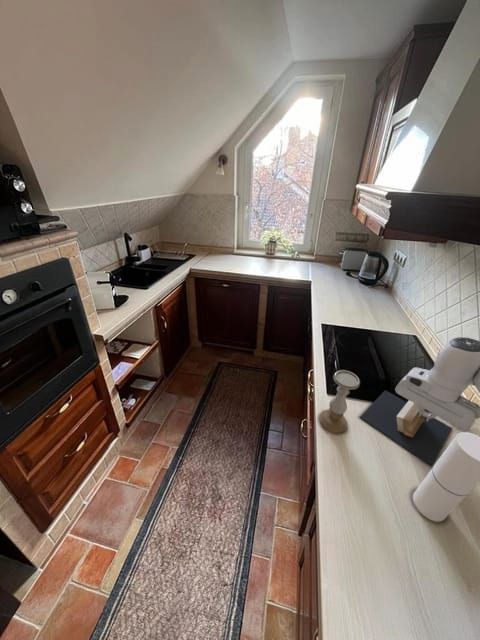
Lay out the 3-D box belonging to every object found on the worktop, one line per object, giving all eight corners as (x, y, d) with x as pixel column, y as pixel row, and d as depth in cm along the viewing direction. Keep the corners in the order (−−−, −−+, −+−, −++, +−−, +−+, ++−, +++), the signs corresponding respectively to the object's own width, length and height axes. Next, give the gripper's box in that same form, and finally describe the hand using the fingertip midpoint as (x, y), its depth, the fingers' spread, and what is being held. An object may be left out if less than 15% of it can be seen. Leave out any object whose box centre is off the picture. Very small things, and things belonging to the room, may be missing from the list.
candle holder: (346, 416, 89) (362, 372, 79) (346, 437, 82) (363, 392, 72) (321, 408, 92) (332, 365, 81) (318, 428, 85) (330, 383, 74)
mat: (450, 428, 86) (451, 427, 85) (431, 466, 74) (431, 465, 74) (384, 390, 100) (385, 389, 100) (359, 417, 89) (360, 416, 88)
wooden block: (425, 417, 87) (424, 402, 86) (412, 437, 80) (411, 421, 79) (410, 413, 90) (409, 398, 89) (397, 432, 84) (395, 416, 82)
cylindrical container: (406, 496, 67) (448, 437, 55) (425, 486, 70) (469, 427, 57) (432, 526, 62) (485, 469, 49) (452, 514, 64) (507, 457, 51)
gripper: (489, 403, 69) (465, 434, 76) (409, 364, 83) (394, 394, 90) (484, 415, 66) (459, 447, 73) (401, 373, 79) (387, 403, 86)
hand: (423, 417), depth 81 cm, fingers closed
